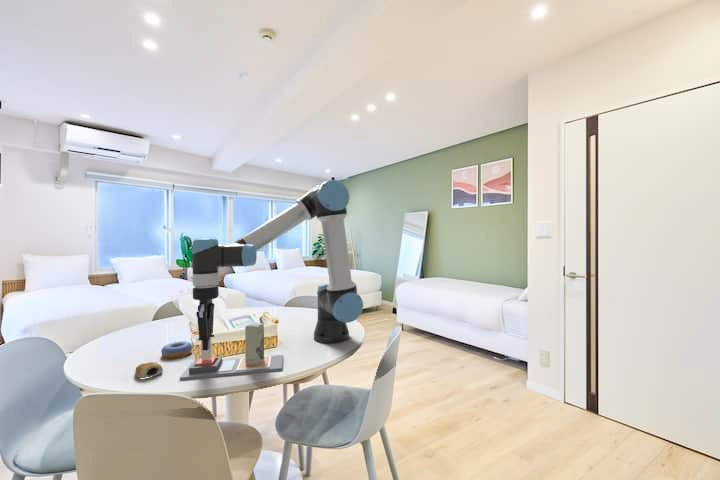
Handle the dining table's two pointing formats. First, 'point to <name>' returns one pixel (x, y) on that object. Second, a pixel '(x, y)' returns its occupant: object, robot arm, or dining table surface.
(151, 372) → the pastry
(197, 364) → the button
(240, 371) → the picture board
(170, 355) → the doughnut
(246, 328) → the box
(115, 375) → the dining table surface
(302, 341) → the dining table surface
